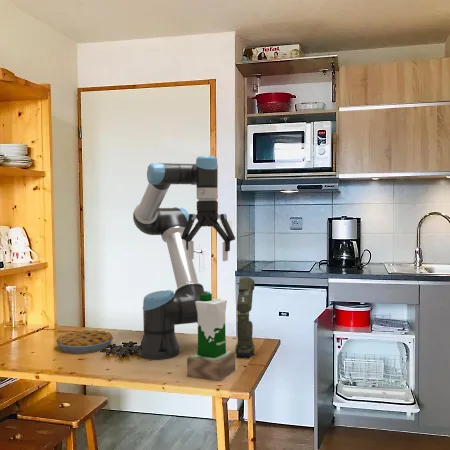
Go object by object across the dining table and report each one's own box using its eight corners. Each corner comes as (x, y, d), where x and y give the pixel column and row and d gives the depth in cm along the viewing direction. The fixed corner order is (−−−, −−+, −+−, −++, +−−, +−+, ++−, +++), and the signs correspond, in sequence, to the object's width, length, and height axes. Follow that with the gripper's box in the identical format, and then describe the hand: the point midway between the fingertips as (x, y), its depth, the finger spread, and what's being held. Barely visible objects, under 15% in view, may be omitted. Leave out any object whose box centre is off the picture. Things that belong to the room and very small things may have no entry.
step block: (187, 376, 169) (187, 356, 168) (203, 365, 180) (203, 347, 179) (220, 381, 164) (220, 361, 163) (235, 369, 175) (235, 351, 174)
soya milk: (208, 348, 178) (207, 291, 177) (230, 352, 173) (229, 293, 172) (193, 355, 170) (192, 295, 169) (216, 359, 165) (215, 298, 164)
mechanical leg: (250, 359, 183) (253, 275, 189) (231, 358, 185) (234, 275, 191) (256, 357, 197) (258, 279, 202) (237, 356, 198) (240, 278, 204)
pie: (79, 358, 190) (79, 345, 190) (45, 348, 203) (44, 336, 203) (124, 345, 207) (124, 332, 207) (89, 337, 221) (89, 325, 220)
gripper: (171, 200, 183) (172, 259, 183) (235, 199, 172) (235, 262, 173) (181, 200, 189) (182, 257, 190) (243, 199, 179) (244, 260, 180)
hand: (207, 260), depth 182 cm, fingers open, 13 cm apart
